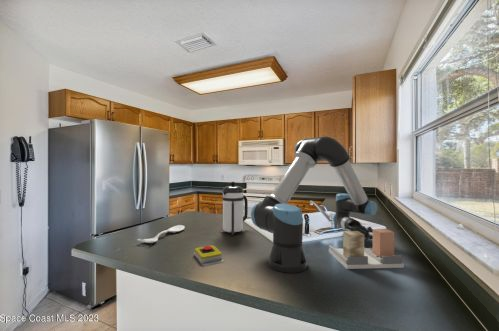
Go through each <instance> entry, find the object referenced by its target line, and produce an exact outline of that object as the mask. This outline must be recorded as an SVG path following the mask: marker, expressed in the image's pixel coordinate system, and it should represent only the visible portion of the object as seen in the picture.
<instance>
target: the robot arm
mask: <svg viewBox="0 0 499 331" xmlns="http://www.w3.org/2000/svg"><path fill="white" fill-rule="evenodd" d="M350 159H351V157H350V155H349V153H348V151H347V149H346V148H345V147H344V146H343V145H342V144H341V142H339V141H338V140H336V138H334V137H331V136H326V135H325V136H317V137H311V138H309V137H308V138H304V139H301V140H300V141H298V142H297V143H296V145H295V148H294V160H293V161H292V163H291V164H290V166H289V168H288V169H287V170H286V172H285V174H284V175H283V176H282V177H281V179H280V181H279V182H278V184H277V185H276V186H275V188H274V189H273V191H272V193H270V194H269V195H266V196H265V197H264V198H263V200H262V201H259V202H257V203H255V204H254V205H253V206H252V208H251V212H250V218H251V221H252V223H253V224H254V226H255V227H257V228H259V229H260V230H264V231H266V232H268V233H270V234H272V246H271V250H270V253H269V255H268V266H269V267H270V268H271V269H273V270H275V271H278V272H282V273H287V274H295V273H296V274H297V273H301V272H303V271H305V270H306V269H307V268H308V267H307V266H308V260H307V257H306V253H305V250H304V246H303V230H304V229H303V228H304V227H303V226H304V218H303V212H302V209H301V208H300V207H298V206H296V205H294V204H288V203H289V202H290V200H291V198H293V195H294V194H295V192H296V191H297V189H298V188H299V186H300V184H301V183H302V181H303V179H304V178H305V176H306V175H307V173H308V171H309V170H310V169H313V168H314V167H315V166H316V165H317V164H318V162H320V161H326V162H328V164H329V165H330V167H332V168H333V169H334V170H335V173H336V174H337V176H338V178H339V179H340V181H341V183H342V185H343V187H344V189H345V191H346V192H347V193H337V194H336V195H335V213H334V214H333V216H332V222H333V223H334V224H335V225H336V226H337V227H339V228H341V229H342V230H343V231H358V232H360V233H362V234H364V240H367V241H368V240H370V241H372V242H373V229H374V228H372V227H371V226H367V227H366V226H365V225H362V224H361V222H360V221H358V220H356V219H355V218H353V217H350V216H351V213H353V214H359V215H364V216H371V217H372V216H375V215H376V213H377V212H378V204H377V203H376V202H375V201H372V200H369V198H368V195H367V194H366V191H365V190H364V188H363V185H362V184H361V181H360V180H359V178H358V176H357V174H356V172H355V170H354V168H353V166H352V164H351V162H350Z"/></svg>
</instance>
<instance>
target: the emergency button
mask: <svg viewBox="0 0 499 331" xmlns="http://www.w3.org/2000/svg"><path fill="white" fill-rule="evenodd" d="M193 256H195V258H196V259H197V261H198V262H199V263H200V264H201V266H203V267H206V266H210V265H215V264H220V263H223V262H225V261H224V259H223V253H222V252H221V250H220V249H218V248H217V247H216V246H215V245H206V246H200V247H196V248H194V252H193Z"/></svg>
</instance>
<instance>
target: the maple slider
mask: <svg viewBox="0 0 499 331" xmlns="http://www.w3.org/2000/svg"><path fill="white" fill-rule="evenodd" d="M342 234H343V235H342V236H343V238H342V240H343V242H342V244H343V247H342V249H343V256H344V257H345V258H347V256H364V247H365V237H364V234H362V233H360V232H358V231H346V230H343V232H342Z"/></svg>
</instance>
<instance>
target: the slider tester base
mask: <svg viewBox="0 0 499 331" xmlns="http://www.w3.org/2000/svg"><path fill="white" fill-rule="evenodd" d="M328 253H329V254H330V255H331V256H333V257H334V258H335V259H336V261H338V262H339V263H340V264H341V265H342V266H343V267H344V268H345V269H346V270H351V269H352V270H354V269H357V270H359V269H364V270H365V269H398V268H399V269H401V268H405V264H404V263H403V255H396V254H394V256H382V258H380V257H379V256H377V255H375V254H374V253H373V247H365V246H364V256H347V258H345V257H344V256H343V248H335V247H333V245H328Z"/></svg>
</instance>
